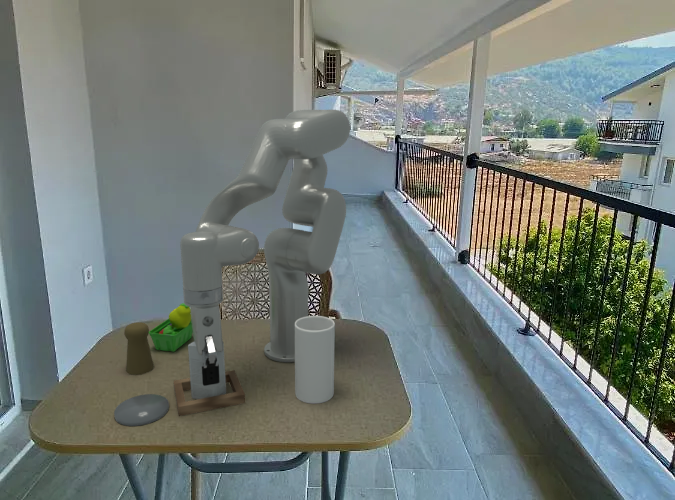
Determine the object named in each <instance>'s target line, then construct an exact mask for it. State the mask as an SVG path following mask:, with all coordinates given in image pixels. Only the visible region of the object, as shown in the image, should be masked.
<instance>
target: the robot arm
mask: <svg viewBox="0 0 675 500" xmlns="http://www.w3.org/2000/svg"><path fill="white" fill-rule="evenodd" d="M257 131H258V132H257V134H256V136H255V138H254V140H253V142H252V145H251V147H250V149H249V152H248V154H247V156H246V158H245V159H244V163H243V164H242V167H241V169H240V171H239V173H238V175H237V177H235V178H234V179H232V181H230V182H229V183H228V184H226V186H224V187H223V188H222V189H221V190H220V191H219V192H218V193H217V194H216V195H215V196H213V198H211V200H210V201H209V202H208V204H207V206H206V207H205V209H204V210H203V213H202V215H201V217H200V220H199V222H198V223H197V227H196V229H195V231H193V232H189V233H185V234H184V235H183V236H182V237H181V238H180V242H179V243H180V258H181V259H180V261H181V272H182V273H181V275H182V276H181V277H182V289H183V291H182V292H183V303H184V304H185V305H187V306H189V307H190V309H191V323H192V332H193V333H192V336H193V342H195V345H196V348H197V351H198V354H200V355H202V360H203V366H202V381H203V385H204V386H207V385H212V384H218V383H219V382H220V380H219V364H218V359H217V351H218V352H222V351H223V343H224V341H223V331H222V330H223V329H222V320H221V318H222V317H221V311H220V306H219V305H220V304H222V303H223V302H224V292H223V272H222V271H223V270H222V269H223V268H224V267H230V266H231V267H232V266H241V265H245V264H248V263H249V262H250V261H252V260H253V259H255V258H256V256H257V255H258V252H259V249H260V242H259V239H258V237H257V236H256V234H255V233H254V232H252V231H250V230H249V229H246V228H244V227H243V228H242V227H238V226H232V225H230V224H231V222H232V220H233V218H235V216H236V215H238V213H239V212H240V211H242V210H243V209H245V208H247V207H249V206H250V205H252V204H256V203H258V202H260V201H264V200H265V199H267V198H270V197H271V196H274V194H275V192H276V191H277V188H278V186H279V183H280V182H281V179H282V176H283V175H284V172H285V170H286V168H287V165H288V163H289V161H290V160H292V159H293V165H292V166H293V167H292V170H291V173H290V174H291V175H290V178H289V182H288V186H287V189H286V192H285V195H284V199H283V203H282V209H281V210H282V215H283V218H284V219H285V220H286V221H287V222H289V223H292V224H295V225H299V226H303V227H312V231H310V230H309V231H308V230H303V229H297V228H292V227H291V228H290V227H280V228H276V229H274V230H272V231H270V233H269V234H268V235H267V236H266V238H265V241H264V246H263V250H264V252H263V253H264V258H265V259H264V260H265V262H266V267H267V272H268V284H269V285H268V287H269V289H268V290H269V292H268V293H269V295H268V297H269V336H270V337H269V338H270V340H269V342H268V343H266V344H265V345H264V348H263V351H264V355H265V357H267V358H268V359H270V360H272V361H276V362H280V363H295V322H296V320H298V319H300V318H302V317H306V316H309V282H308V278H307V275H306V273H308V274H311V275H322V274H326V273H327V271H329V270H330V268H331V266H332V265H333V262H334V261H335V258H336V253H337V250H338V246H339V243H340V241H341V240H340V239H341V236H342V233H343V228H344V225H345V221H346V217H347V204H346V203H347V202H346V200H345V198H344V195H343V194H342V193H341V192H340V191H338V190H336V189H334V188H329V187H325V185H326V180H327V176H328V165H327V161H326V159H325V156H324V155H325V154H329V153H331V152H333V151H335V150H337V149H339V148H341V147H343V145H344V144H345V143H346V142H347V141H348V139H349V137H350V134H351V123H350V119H349V118H348V116H347V115H346V114H345V113H344V112H343V111H341V110H339V109H299V110H294V111H291V112H290V113H288V114H287V115H286V116H285V117H284V118H275V119H274V118H273V119H269V120H267V121H265V122H264V123H262V125H261V126H260V127H259V130H257ZM205 341H206V342H205ZM204 349H207V351H204ZM216 350H217V351H216ZM206 355H208V358H207V359H206V357H205V356H206Z"/></svg>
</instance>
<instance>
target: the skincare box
mask: <svg viewBox="0 0 675 500" xmlns="http://www.w3.org/2000/svg"><path fill="white" fill-rule="evenodd" d="M205 342H206V341H205ZM187 349H188V350H187V351H188V365H189V378H190V383H191V390H190V393H191V394H190V395H191V399H193V400H197V399H202V398H208V397H213V396H218V395H223V394H227V383H226V380H225V372H226V366H225V365H226V362H225V346H224V342H223V351H222V352H218V351H217V350H216V351H217V359H218V364H219V380H220V382H219V383H218V384H212V385H207V386H204V385H203V381H202V366H203V360H202V355H200V354H198V351H197V348H196V345H195V342H194V341H192V342H190V343H189V344H188V345H187ZM204 351H207V349H204ZM205 357H206V359H207V358H208V355H206V356H205Z"/></svg>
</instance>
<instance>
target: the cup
mask: <svg viewBox="0 0 675 500" xmlns="http://www.w3.org/2000/svg"><path fill="white" fill-rule="evenodd" d="M335 327H336V325H335V321H334V319H332V318H331V317H330V318H329V317H327V316H323V315H308V316H306V317H302V318H300V319H298V320H296V322H295V362H294V395H295V397H296V398H297V400H299V401H300V402H302V403H306V404H321V403H325V402H328V401H329V400H332V398H333V396H334V395H335V393H334V392H335V388H334V387H335V333H336V332H335V331H336V330H335V329H336V328H335Z"/></svg>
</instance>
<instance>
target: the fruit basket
mask: <svg viewBox="0 0 675 500" xmlns="http://www.w3.org/2000/svg"><path fill="white" fill-rule="evenodd" d="M148 336H150V338H151V340H152V342H153V345H154V348H155V350H156V351H164V352H176V351H177V350H178V349H179V348H181V347H182V346H183V345H184V344H186V343H187V342H188V341H189V340H191V339H192V336H193V332H192V323H191V308H190V307H189V306H187V305H185V304H184V302H183V303H180V304H179V306H177V307H176V308H174V309H173V310H172V311H170V312H169V314H168V318H167V319H166V320H164V321H163V322H161V323H159V324H158V325H157V326H155V327H154V328H152V329H151V330H149V334H148Z"/></svg>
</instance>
